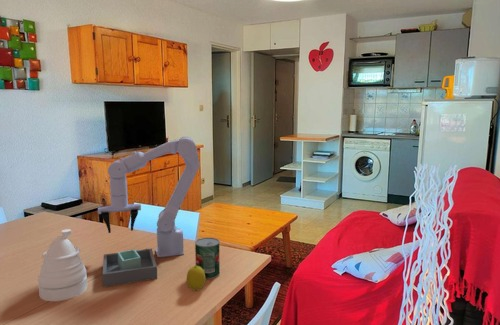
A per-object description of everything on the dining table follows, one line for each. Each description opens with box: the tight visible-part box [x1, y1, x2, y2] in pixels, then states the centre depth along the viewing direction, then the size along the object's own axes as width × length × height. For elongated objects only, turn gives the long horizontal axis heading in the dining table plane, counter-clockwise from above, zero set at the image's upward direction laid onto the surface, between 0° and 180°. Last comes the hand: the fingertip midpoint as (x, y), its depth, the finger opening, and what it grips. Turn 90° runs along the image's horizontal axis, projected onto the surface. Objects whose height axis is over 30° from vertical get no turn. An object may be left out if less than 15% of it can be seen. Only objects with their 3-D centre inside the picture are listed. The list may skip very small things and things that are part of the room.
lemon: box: [186, 264, 206, 292], centre depth 109 cm, size 6×6×8 cm
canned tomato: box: [194, 237, 221, 280], centre depth 120 cm, size 8×8×11 cm
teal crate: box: [117, 248, 141, 270], centre depth 122 cm, size 6×8×5 cm
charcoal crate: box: [102, 248, 158, 288], centre depth 122 cm, size 16×16×4 cm
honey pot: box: [37, 228, 88, 302], centre depth 109 cm, size 13×13×18 cm
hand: (120, 230), depth 134 cm, fingers open, 7 cm apart
